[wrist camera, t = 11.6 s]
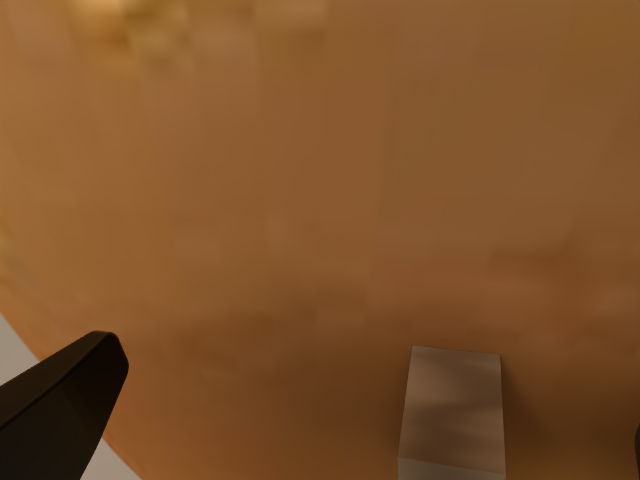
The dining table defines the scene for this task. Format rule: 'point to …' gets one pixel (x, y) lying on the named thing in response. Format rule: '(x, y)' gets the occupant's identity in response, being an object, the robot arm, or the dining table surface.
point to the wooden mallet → (452, 417)
